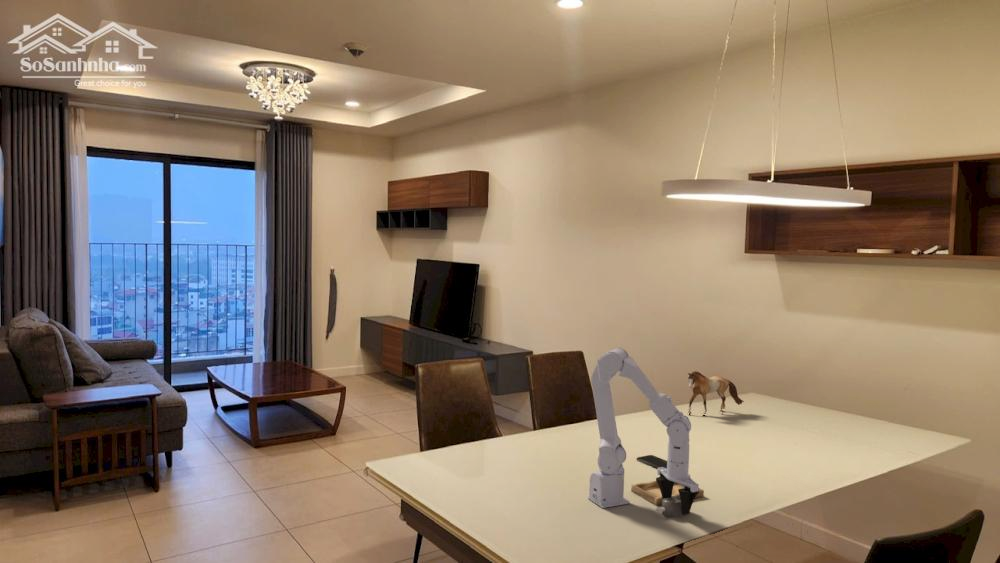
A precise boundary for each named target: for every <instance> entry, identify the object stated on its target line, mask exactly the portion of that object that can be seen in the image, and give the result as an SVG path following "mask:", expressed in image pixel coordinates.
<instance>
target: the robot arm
mask: <svg viewBox="0 0 1000 563" xmlns="http://www.w3.org/2000/svg"><path fill="white" fill-rule="evenodd" d="M618 373H619V374H618ZM616 374H618V376H619V377H622V378H627V379H630V380H631V381H632V383H633V384H634V385H635V386H636V387H637V388H638V389H639V391H640V392H642V394H643V395H644V396H645V398H647V399H648V402H649V404H648V407H649V409H650V410H651V411H652V412H653V413H654V414H655V416H656V417H657V419H659V421H660V422H661V423H662V424H663V425H664V426H665V427H666V434H667V435H668V443H667V460H666V461H667V468H664V467H660V468H658V470H657V471H656V472H657V475H658V476H659V477H656V478H655V481H657V483H658V485H659V487H660V490H661V494H662V499H664V498H669V497H672V490H673V485H674V482H676V483H678V484H680V485H682V486H684V488H683V489H678V491H679V494H680V498H681V512H682V514H683V516H686V515H685V514H688V515H690V514H689V512H691V508H692V506H693V503H694V501H695V498H696V496H697V495H698V493H699V490H698V488H700V487H699V483H697V482H696V481H695V480H693V478H691V474H689V467H690V462H689V461H690V432H691V430H692V423H691V420H690V419H689V417H688V416H687V415H685V414H684V412H683V411H682V410H681V411H680V410H679V409H678V408H677V407H676V405H675V404H674V403H673V402H672V401H673V398H672V397H671V396H667V395H666V394H665V393H661V392H658V391H657V389H656V388H655V386H654V385H653V384H652V382H651V380H649V378H648V377H647V376H646V374H645V372H644V371H643V370H642V369H641V367H640V366H639V365H638V363H637V361H636V360H635V358H633V357H632V356H631V355H629V353H628V351H627V350H625V349H624V348H622V347H614V348H612V349H610V350H609V351H606V352H605V353H603V354H602V355H601V356H600V357H599V358H598V359H597V362H596V365H595V368H594V371H593V372H592V374H591V378H590V381H591V388H592V395H593V401H594V407H595V412H596V420H597V425H598V426H597V427H598V433H599V444H598V452H599V454H598V457H597V465H598V470H596V471H595V472H592V473H591V474H590V478H589V488H588V489H589V495H588V496H587V500H590V501H591V502H593V503H594V504H596V505H597V506H599V507H600V508H602V509H606V508H612V507H615V506H622V505H628V504H630V500H628V499H626V498H624V489H625V488H624V487H625V468H624V466H623V463H625V461H626V459H627V452H626V449H625V448H624V447H623V444H622V440H621V438H620V436H619V435H618V428H617V422H616V421H617V420H616V416H615V410H614V409H615V408H614V403H613V397H612V390H611V383H610V382H611V380H612V379H614V377H615V376H616ZM696 499H697V498H696Z"/></svg>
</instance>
